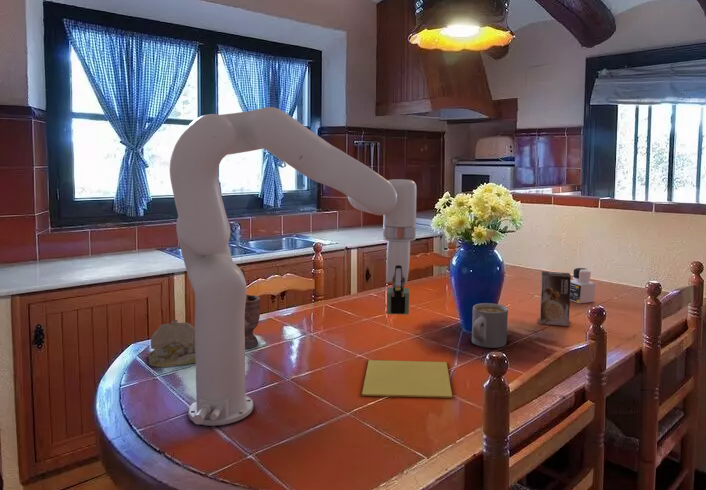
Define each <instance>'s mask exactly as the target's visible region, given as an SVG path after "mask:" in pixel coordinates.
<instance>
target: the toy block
mask: <svg viewBox="0 0 706 490" xmlns="http://www.w3.org/2000/svg"><path fill="white" fill-rule="evenodd" d="M386 294H387V295H386V297H387V299H386V314H387V315H400V314H399V313H391V296H392V287H388V288H387V292H386ZM394 296H395V295H394ZM404 296H405V313H404V314H403V315H410V287H404Z"/></svg>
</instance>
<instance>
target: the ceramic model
mask: <svg viewBox="0 0 706 490" xmlns="http://www.w3.org/2000/svg"><path fill="white" fill-rule="evenodd" d="M150 349H151V350H152V351H151V352H149V353H148V354H147V358H148V364H149V365H150V366H152V367H157V368H167V367H168V368H169V367H176V366H183V365H189V364H196V358H195V325H194V326H193V325H191V323H189V322H187V321H185V322H179V320H178V319H175V320H172V321H171V323H163V324H160V326H159V327H158V328H157V329H156V331H154V333H152V335H151V338H150Z"/></svg>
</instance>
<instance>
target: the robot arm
mask: <svg viewBox="0 0 706 490" xmlns="http://www.w3.org/2000/svg"><path fill="white" fill-rule="evenodd" d="M259 150H265V151H267V152H269V153H270V154H271V155H273V156H274V157H276V158H277V159H279V160H281V161H282V162H283V163H285V164H287V165H288V166H290V167H291V168H293V169H294V170H296V171H297V172H299V173H300V174H302V175H303V176H305V177H306V178H308V179H310V180H312V181H314V182H315V183H319V184H321V185H324V186H326V187H329V188H331V189H333V190H336V191H338V192H340V193H342V194H343V195H346V196H347V201H348V202H349V204H350V205H351V206H352V208H354V209H356V210H358V211H360V212H364V213H367V214H371V215H375V216H383V217H382V219H383V220H382V221H383V222H382V226H383V227H382V228H383V229H382V239H383V240H384V241H387V245H386V268H385V269H386V270H385V271H386V273H385V274H386V276H385V277H386V278H385V283H386V284H387V285H389V284H390V283H391V286H392V287H391V288H392V296H391V313H399V314H398V315H405V314H404V313H405V296H404V288H405V285H406V284H407V283H408V280H409V273H410V272H409V271H410V264H411V263H410V262H411V261H410V260H411V242H414V241H416V239H417V237H416V236H417V235H416V233H417V232H416V231H417V193H418V192H417V191H418V189H417V184H416V182H415V181H414V180H412V179H402V178H399V179H397V178H394V179H386V178H385V177H383V176H382V175H381V174H379V173H377V172H376V171H375V170H373V169H372V168H370V167H369V166H367V164H364V163H363V162H361V161H359V160H358V159H356V158H354V157H352V156H351V155H349V154H348V153H346V152H344V151H343V150H341V149H339V148H338V147H336V146H334V145H332V144H331V143H329V142H328V141H326V140H325V139H324V138H322V137H321V136H319V135H318V134H316V133H315V132H313V131H312V130H310V128H308V127H307V126H305V125H304V124H302V123H301V122H299V121H298V120H297V119H295V118H294V117H292V116H291V115H289V113H287V112H285V111H284V110H283V109H280V108H277V107H274V106H265V107H261V108H257V109H253V110H247V111H241V112H233V113H232V112H231V113H224V114H217V113H209V114H208V113H207V114H204V115H201V116H198V117H196V118H195V119H193V120H192V121H191V122H190V123H189V124H188V126H187V128H186V130H184V131H183V133H182V134H181V135H180V137H179V138H178V139H177V141H176V143H175V145H174V147H173V149H172V152H171V156H170V160H169V178H170V184H171V189H172V193H173V199H174V204H175V208H176V212H177V213H176V214H177V219H176V224H175V229H176V235H177V239H178V243H179V248H180V251H181V255H182V259H183V263H184V266H185V267H184V268H185V271H186V273H187V277H188V281H189V283H190V285H191V288H192V290H193V293H194V327H195V358H196V362H195V394H196V395H195V396H196V398H195V399H196V401H194V402H192V404H191V405H190V406H189V408H188V409H187V412H188V413H187V414H188V415H187V416H188V418H189V420H190V421H192V422H193V423H194V424H195V425H202V426H209V427H210V426H211V427H213V426H224V425H229V424H234V423H236V422H240V421H241V420H243V419H245V418H246V417H248V416H249V415H250V414H251V413H252V412H253V410H254V401H253V399H252V398H251V397H250V396H248V395H246V349H245V304H246V294H247V293H248V291H247V281H246V277H245V278H244V275H243V273H242V271H241V270H240V269H241V268H240V267H239V265H237V264H236V263H235V262H234V261H233V257H232V253H231V249H230V246H229V242H230V240H231V239H230V238H231V225H230V222H229V219H228V216H227V213H226V208H225V204H224V200H223V197H222V194H221V187H220V181H219V167H220V164H221V162H222V160H223V159H224V158H225V157H226V156H228V155H235V154H242V153H248V152H252V151H259ZM394 295H395V296H394Z"/></svg>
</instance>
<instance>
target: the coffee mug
mask: <svg viewBox="0 0 706 490" xmlns="http://www.w3.org/2000/svg"><path fill="white" fill-rule="evenodd" d="M471 317H472V319H471V320H472V322H471V343H472V344H473V345H475V346H478V347H482V348H486V349H487V348H489V349H495V348H502V347H505V346H506V345H507V339H508V338H507V337H508V317H509V308H508V307H507V306H504V305H502V304H498V303H491V302H490V303H489V302H482V303H476V304H473V306H472V316H471Z"/></svg>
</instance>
